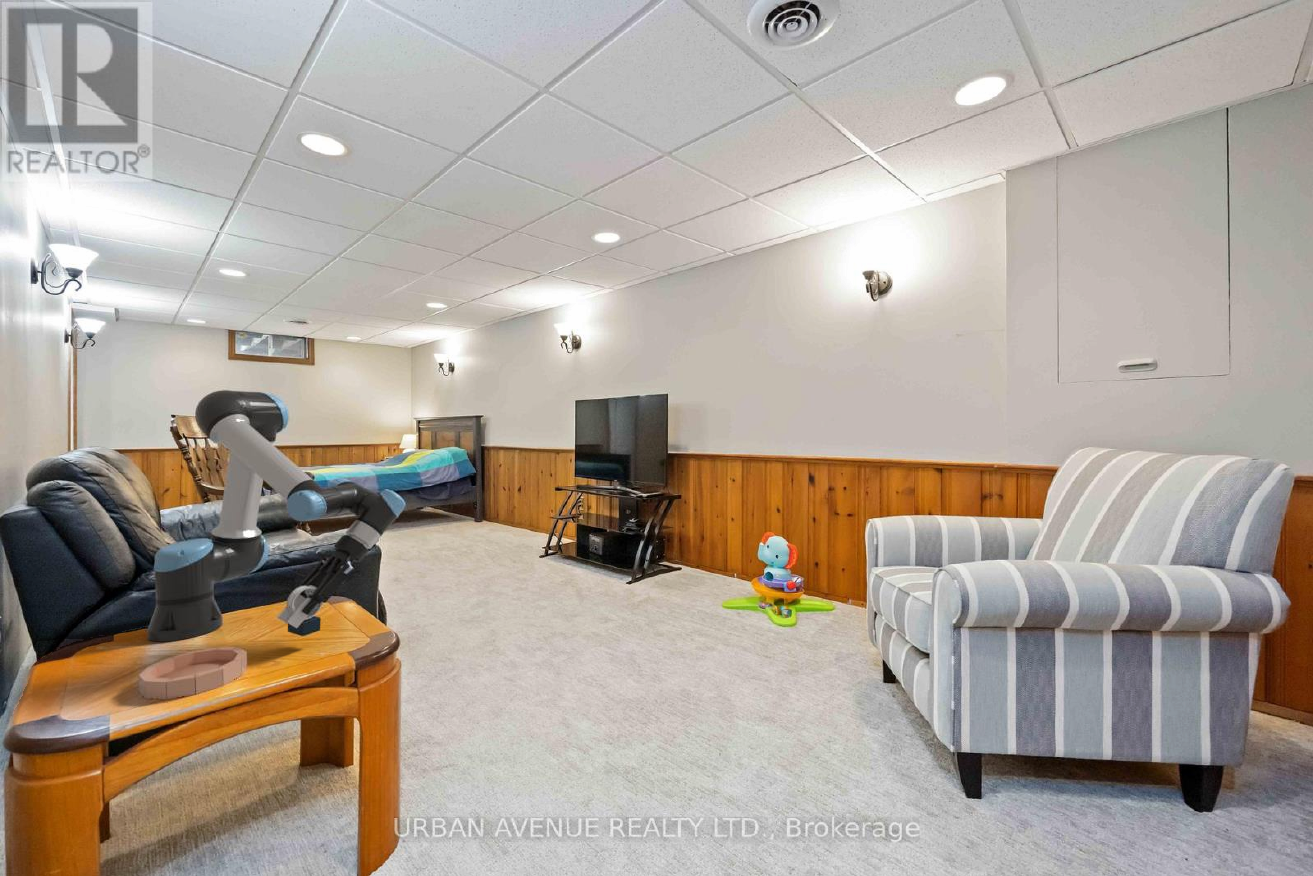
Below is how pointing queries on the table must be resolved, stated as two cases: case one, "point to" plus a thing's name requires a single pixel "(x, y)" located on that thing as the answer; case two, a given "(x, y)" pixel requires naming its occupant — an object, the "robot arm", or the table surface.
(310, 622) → the watch
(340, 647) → the table surface
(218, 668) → the dish
